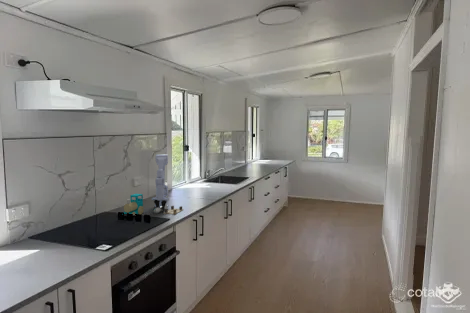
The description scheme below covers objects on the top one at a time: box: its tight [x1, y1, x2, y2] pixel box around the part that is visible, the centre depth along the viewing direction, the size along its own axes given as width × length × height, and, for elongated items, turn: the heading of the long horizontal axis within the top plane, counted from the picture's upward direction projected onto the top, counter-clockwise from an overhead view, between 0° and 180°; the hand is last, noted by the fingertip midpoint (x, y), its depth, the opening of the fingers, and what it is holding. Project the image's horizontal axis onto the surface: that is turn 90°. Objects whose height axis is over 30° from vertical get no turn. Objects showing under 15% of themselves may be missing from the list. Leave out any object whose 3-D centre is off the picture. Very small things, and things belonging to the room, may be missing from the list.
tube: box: [153, 204, 168, 215], centre depth 244 cm, size 14×4×4 cm, turn 163°
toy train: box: [123, 193, 145, 216], centre depth 232 cm, size 8×17×15 cm, turn 159°
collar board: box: [163, 205, 184, 215], centre depth 242 cm, size 10×14×4 cm
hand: (160, 209), depth 244 cm, fingers closed on tube, 4 cm apart
